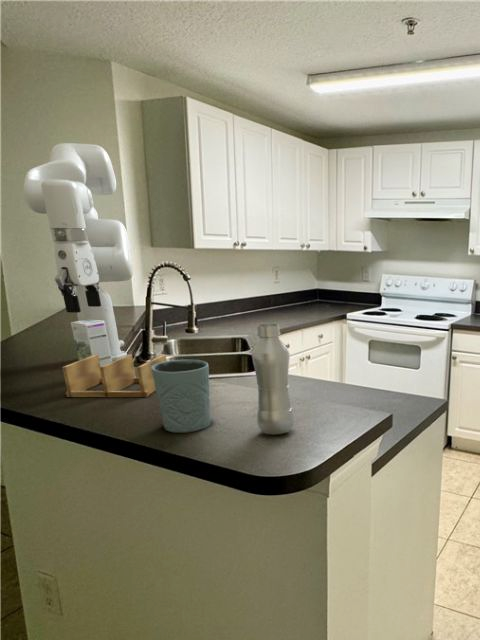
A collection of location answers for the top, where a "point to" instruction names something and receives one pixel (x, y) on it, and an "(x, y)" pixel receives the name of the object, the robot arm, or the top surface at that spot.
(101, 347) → the syrup box
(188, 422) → the blue embossed cup
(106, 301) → the robot arm
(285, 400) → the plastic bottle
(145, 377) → the wooden shelf rack
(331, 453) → the top surface
